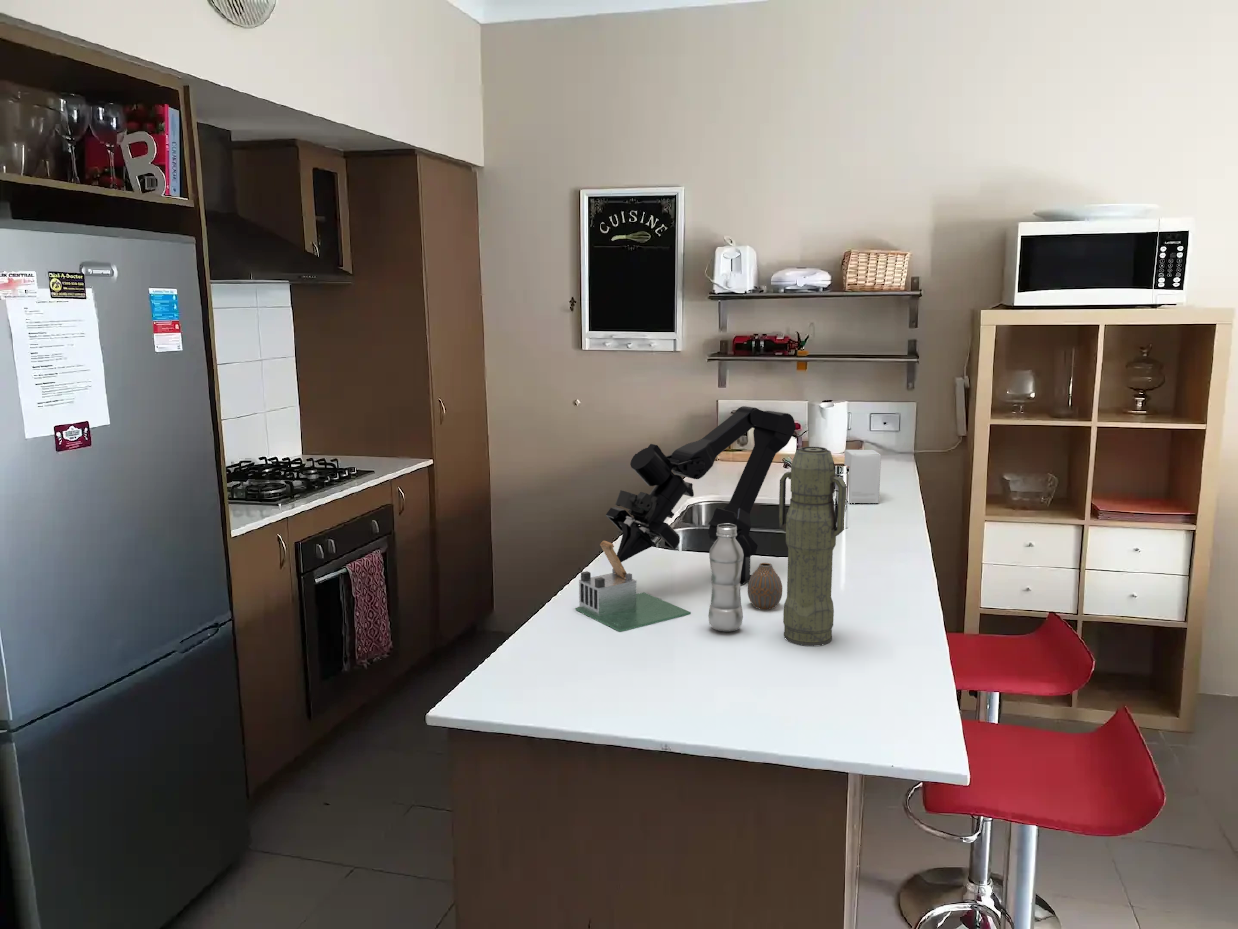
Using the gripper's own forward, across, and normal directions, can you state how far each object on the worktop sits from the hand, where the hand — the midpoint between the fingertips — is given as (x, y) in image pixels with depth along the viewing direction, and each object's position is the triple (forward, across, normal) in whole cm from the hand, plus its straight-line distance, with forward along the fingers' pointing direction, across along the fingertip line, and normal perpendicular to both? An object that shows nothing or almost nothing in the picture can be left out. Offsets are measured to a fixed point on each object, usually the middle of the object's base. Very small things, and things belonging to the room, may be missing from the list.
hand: (617, 561), depth 192 cm
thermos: (-6, +34, +20) cm, 40 cm away
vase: (-10, +17, +24) cm, 31 cm away
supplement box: (-74, -36, +87) cm, 120 cm away
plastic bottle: (+1, +22, +13) cm, 26 cm away
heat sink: (+6, +4, +7) cm, 10 cm away
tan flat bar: (+1, 0, -1) cm, 1 cm away
